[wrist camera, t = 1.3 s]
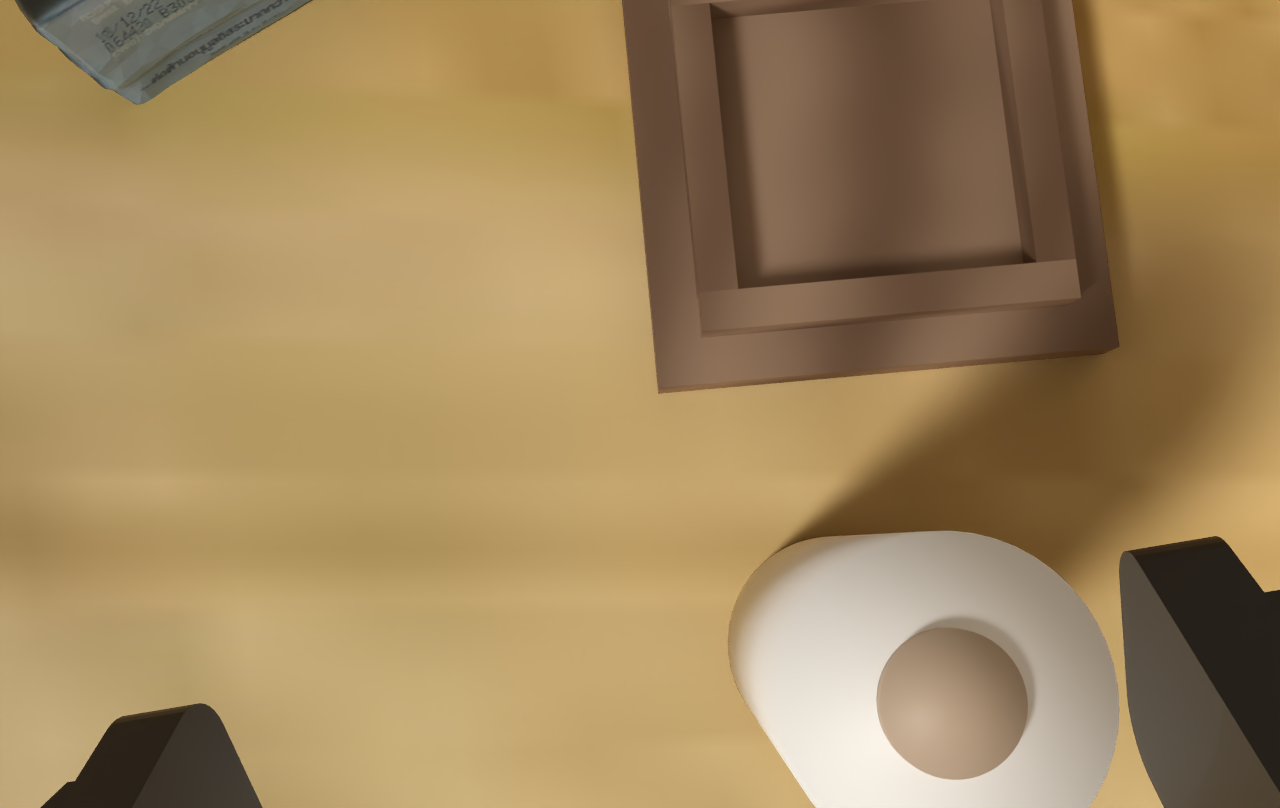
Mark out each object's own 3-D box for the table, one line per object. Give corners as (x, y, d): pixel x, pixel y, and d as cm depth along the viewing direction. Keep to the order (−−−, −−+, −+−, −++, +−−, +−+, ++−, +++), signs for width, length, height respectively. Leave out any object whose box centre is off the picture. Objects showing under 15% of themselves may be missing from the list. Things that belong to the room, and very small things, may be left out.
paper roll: (738, 762, 32) (799, 899, 19) (718, 546, 32) (764, 546, 20) (953, 742, 32) (1148, 865, 20) (928, 527, 32) (1102, 516, 20)
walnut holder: (658, 393, 33) (671, 280, 19) (619, -31, 34) (603, -427, 20) (1101, 353, 33) (1440, 212, 19) (1045, -68, 34) (1320, -486, 20)
